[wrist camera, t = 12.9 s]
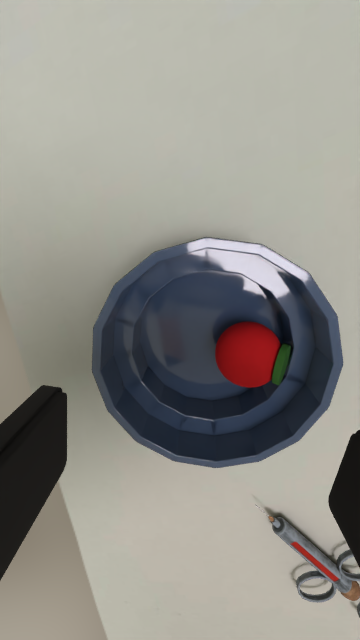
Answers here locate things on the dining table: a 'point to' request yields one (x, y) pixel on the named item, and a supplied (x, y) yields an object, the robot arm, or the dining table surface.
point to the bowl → (213, 352)
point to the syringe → (319, 565)
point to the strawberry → (251, 355)
